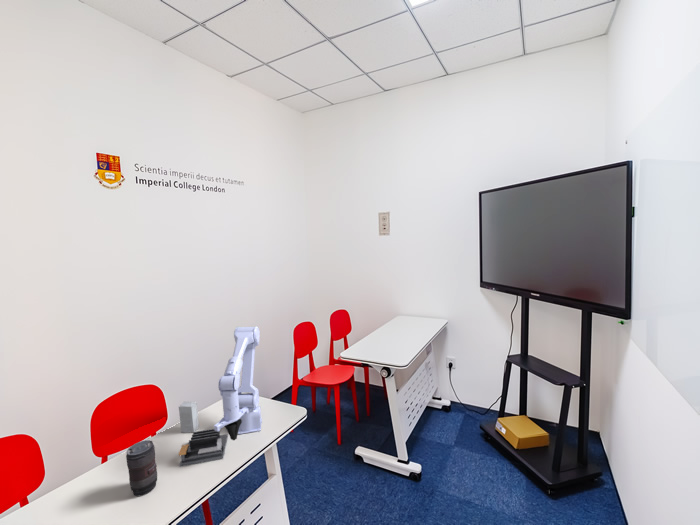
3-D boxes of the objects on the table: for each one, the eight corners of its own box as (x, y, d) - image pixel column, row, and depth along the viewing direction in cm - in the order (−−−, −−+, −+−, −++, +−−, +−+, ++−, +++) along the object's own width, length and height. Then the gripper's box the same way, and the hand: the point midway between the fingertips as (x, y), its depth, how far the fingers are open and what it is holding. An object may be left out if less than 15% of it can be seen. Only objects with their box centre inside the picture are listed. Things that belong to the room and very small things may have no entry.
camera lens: (154, 475, 118) (150, 436, 116) (161, 487, 112) (157, 446, 111) (128, 488, 112) (123, 447, 111) (133, 502, 107) (128, 459, 105)
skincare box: (199, 427, 147) (197, 401, 145) (194, 432, 142) (191, 406, 141) (186, 426, 147) (184, 401, 146) (180, 432, 143) (178, 406, 142)
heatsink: (227, 436, 139) (227, 425, 138) (222, 458, 125) (221, 447, 125) (188, 443, 136) (187, 432, 135) (179, 466, 122) (178, 454, 121)
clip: (222, 448, 129) (221, 438, 129) (221, 452, 127) (220, 442, 126) (199, 452, 127) (198, 442, 127) (198, 456, 125) (197, 445, 124)
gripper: (239, 394, 135) (241, 426, 137) (207, 412, 123) (210, 446, 124) (251, 398, 132) (253, 431, 133) (219, 417, 119) (222, 452, 121)
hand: (233, 438), depth 128 cm, fingers closed
